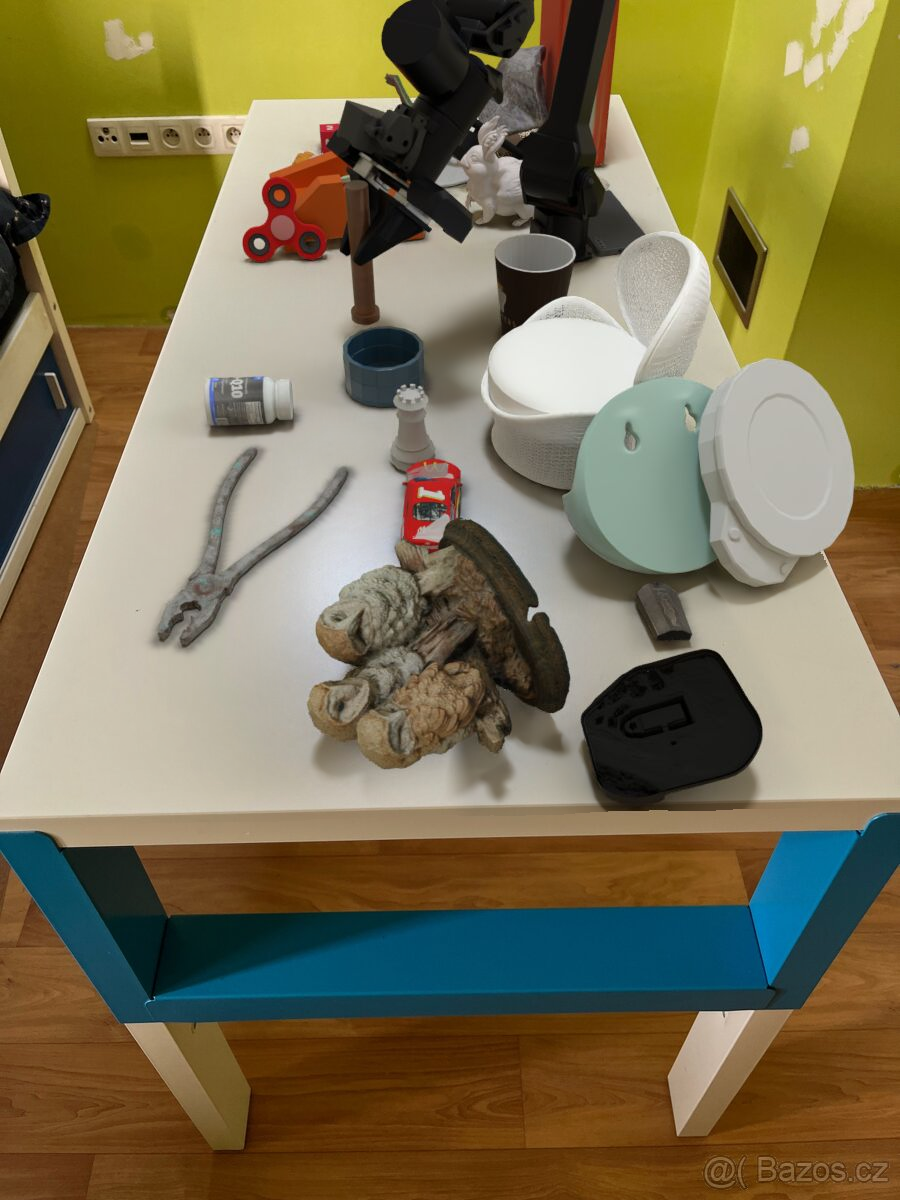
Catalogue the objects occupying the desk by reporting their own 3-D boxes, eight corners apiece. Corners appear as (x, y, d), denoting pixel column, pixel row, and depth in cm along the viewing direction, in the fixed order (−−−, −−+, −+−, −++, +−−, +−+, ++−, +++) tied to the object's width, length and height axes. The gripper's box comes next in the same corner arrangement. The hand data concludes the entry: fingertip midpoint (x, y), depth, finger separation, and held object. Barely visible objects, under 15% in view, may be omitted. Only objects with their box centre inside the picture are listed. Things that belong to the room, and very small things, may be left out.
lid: (665, 533, 79) (692, 527, 76) (718, 330, 85) (746, 318, 83) (800, 623, 87) (830, 620, 84) (840, 431, 93) (869, 422, 90)
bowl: (404, 355, 110) (403, 318, 106) (438, 394, 105) (437, 357, 101) (334, 374, 107) (330, 338, 104) (365, 415, 102) (362, 378, 99)
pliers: (250, 450, 98) (114, 627, 82) (249, 444, 98) (111, 620, 81) (351, 471, 96) (232, 657, 79) (350, 465, 95) (230, 651, 79)
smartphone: (559, 202, 135) (598, 256, 125) (559, 196, 134) (599, 250, 125) (610, 195, 136) (652, 248, 126) (610, 189, 135) (653, 242, 126)
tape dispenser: (404, 196, 137) (401, 134, 131) (423, 238, 128) (422, 173, 122) (274, 210, 134) (265, 147, 128) (285, 253, 126) (276, 188, 120)
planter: (729, 541, 94) (683, 374, 92) (783, 536, 87) (735, 355, 85) (565, 604, 87) (512, 423, 85) (611, 603, 80) (554, 407, 78)
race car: (408, 474, 95) (406, 440, 93) (464, 475, 95) (464, 442, 92) (395, 569, 86) (392, 535, 83) (457, 571, 86) (457, 537, 83)
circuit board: (462, 139, 147) (460, 148, 148) (512, 158, 146) (510, 166, 147) (481, 116, 151) (479, 124, 152) (529, 134, 151) (527, 142, 152)
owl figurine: (596, 667, 65) (367, 787, 60) (570, 742, 75) (371, 850, 70) (457, 481, 73) (244, 572, 68) (449, 571, 83) (263, 656, 78)
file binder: (548, 167, 143) (566, -98, 120) (533, 121, 155) (547, -128, 132) (603, 166, 144) (631, -99, 121) (585, 120, 156) (607, -129, 132)
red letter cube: (321, 144, 150) (319, 124, 148) (341, 143, 150) (339, 123, 148) (321, 152, 148) (319, 132, 146) (341, 151, 148) (340, 131, 146)
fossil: (454, 138, 148) (510, 171, 151) (479, 136, 135) (540, 172, 139) (500, 35, 144) (557, 71, 147) (530, 24, 131) (592, 64, 135)
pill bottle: (205, 368, 99) (290, 366, 100) (213, 407, 103) (294, 404, 103) (201, 396, 96) (288, 393, 97) (209, 435, 100) (293, 432, 100)
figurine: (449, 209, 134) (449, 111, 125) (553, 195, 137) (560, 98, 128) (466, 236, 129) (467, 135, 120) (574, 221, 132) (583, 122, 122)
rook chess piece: (442, 451, 98) (441, 383, 92) (426, 479, 95) (424, 409, 89) (400, 442, 99) (396, 374, 93) (383, 469, 96) (378, 400, 90)
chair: (480, 380, 106) (484, 196, 91) (666, 383, 105) (700, 198, 91) (478, 502, 92) (482, 308, 78) (692, 506, 92) (736, 311, 77)
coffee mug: (563, 360, 109) (570, 276, 102) (486, 352, 110) (488, 268, 103) (575, 306, 117) (583, 225, 110) (503, 299, 118) (506, 218, 111)
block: (653, 648, 80) (656, 633, 78) (630, 596, 84) (633, 580, 82) (696, 642, 80) (700, 627, 79) (671, 590, 84) (675, 575, 83)
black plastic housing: (777, 762, 66) (776, 788, 70) (728, 639, 72) (730, 669, 76) (604, 808, 68) (613, 831, 72) (569, 684, 73) (579, 712, 77)
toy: (245, 261, 125) (244, 263, 124) (234, 177, 119) (233, 179, 119) (328, 258, 125) (327, 260, 124) (320, 174, 120) (320, 175, 119)
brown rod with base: (373, 308, 105) (364, 175, 95) (384, 321, 103) (377, 187, 93) (347, 314, 104) (335, 181, 94) (358, 328, 102) (347, 194, 92)
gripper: (334, 36, 93) (246, 182, 97) (446, 96, 83) (342, 257, 86) (407, 106, 102) (324, 237, 106) (517, 169, 91) (420, 312, 95)
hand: (349, 258), depth 98 cm, fingers closed on brown rod with base, 2 cm apart
